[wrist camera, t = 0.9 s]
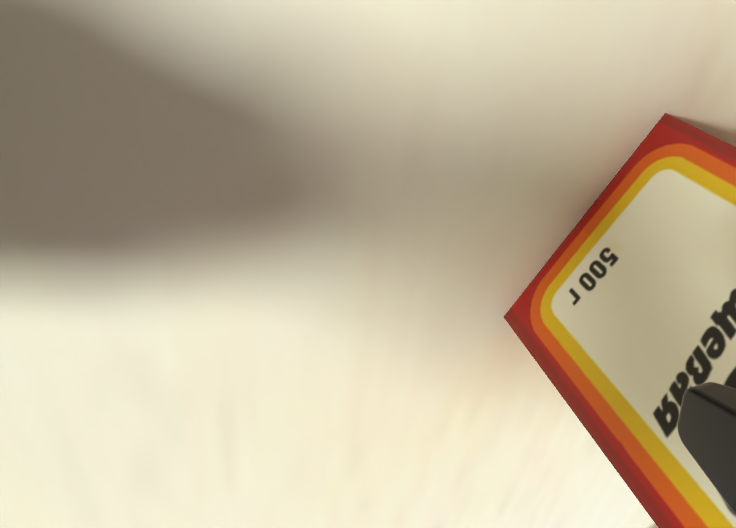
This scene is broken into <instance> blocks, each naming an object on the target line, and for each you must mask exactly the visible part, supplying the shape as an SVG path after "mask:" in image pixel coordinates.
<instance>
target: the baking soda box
mask: <svg viewBox="0 0 736 528" xmlns="http://www.w3.org/2000/svg"><path fill="white" fill-rule="evenodd" d="M504 318H505V319H506V321H507V322H508V323H509V325H510V326H511V328H512V329H513V330H514V332H515V333H516V334H517V336H518V337H519V338H520V340H521V341H522V343H523V344H524V345H525V347H526V348H527V349H528V351H529V352H530V353H531V355H532V356H533V357H534V359H535V360H536V362H537V363H538V364H539V366H540V367H541V368H542V370H543V371H544V372H545V374H546V375H547V377H548V378H549V379H550V381H551V382H552V383H553V385H554V386H555V387H556V389H557V390H558V392H559V393H560V394H561V396H562V397H563V398H564V400H565V401H566V402H567V404H568V405H569V406H570V408H571V409H572V411H573V412H574V413H575V415H576V416H577V417H578V419H579V420H580V421H581V423H582V424H583V426H584V427H585V428H586V430H587V431H588V432H589V434H590V435H591V436H592V438H593V439H594V440H595V442H596V443H597V445H598V446H599V447H600V449H601V450H602V451H603V453H604V454H605V455H606V457H607V458H608V460H609V461H610V462H611V464H612V465H613V466H614V468H615V469H616V470H617V472H618V473H619V474H620V476H621V477H622V479H623V480H624V481H625V483H626V484H627V485H628V487H629V488H630V489H631V491H632V492H633V494H634V495H635V496H636V498H637V499H638V500H639V502H640V503H641V504H642V506H643V507H644V508H645V510H646V511H647V513H648V514H649V515H650V517H651V518H652V519H653V521H654V522H655V523H656V525H657V526H658V527H659V528H736V515H735V514H734V512H733V511H732V510H731V509H730V507H729V506H728V504H727V503H726V502H725V500H724V499H723V498H722V496H721V495H720V494H719V492H718V491H717V489H716V488H715V487H714V485H713V484H712V483H711V481H710V480H709V479H708V477H707V476H706V475H705V473H704V472H703V470H702V469H701V468H700V466H699V465H698V464H697V462H696V461H695V460H694V458H693V457H692V456H691V454H690V453H689V451H688V450H687V449H686V447H685V446H684V444H683V443H682V441H681V439H680V437H679V434H678V428H677V424H678V419H679V414H680V409H681V404H682V399H683V395H684V392H685V391H686V390H687V389H688V388H690V387H693V386H697V385H700V384H703V383H707V382H714V383H718V384H722V385H725V386H728V387H731V388H735V389H736V147H733V146H731V145H729V144H727V143H725V142H723V141H721V140H719V139H717V138H715V137H713V136H711V135H709V134H707V133H705V132H703V131H701V130H699V129H697V128H695V127H693V126H691V125H689V124H686V123H684V122H682V121H680V120H678V119H676V118H674V117H672V116H670V115H668V114H666V113H665V114H664V115H663V117H662V118H661V119H660V121H659V122H658V123H657V124H656V126H655V127H654V128H653V129H652V131H651V132H650V133H649V134H648V136H647V137H646V138H645V139H644V141H643V142H642V143H641V144H640V146H639V147H638V148H637V150H636V151H635V152H634V153H633V155H632V156H631V157H630V158H629V160H628V161H627V162H626V163H625V165H624V166H623V167H622V168H621V170H620V171H619V172H618V173H617V175H616V176H615V177H614V179H613V180H612V181H611V182H610V184H609V185H608V186H607V187H606V189H605V190H604V191H603V192H602V194H601V195H600V196H599V197H598V199H597V200H596V201H595V202H594V204H593V205H592V206H591V208H590V209H589V210H588V211H587V213H586V214H585V215H584V216H583V218H582V219H581V220H580V221H579V223H578V224H577V225H576V226H575V228H574V229H573V230H572V231H571V233H570V234H569V235H568V237H567V238H566V239H565V240H564V242H563V243H562V244H561V245H560V247H559V248H558V249H557V250H556V252H555V253H554V254H553V255H552V257H551V258H550V259H549V260H548V262H547V263H546V264H545V266H544V267H543V268H542V269H541V271H540V272H539V273H538V274H537V276H536V277H535V278H534V279H533V281H532V282H531V283H530V284H529V286H528V287H527V288H526V289H525V291H524V292H523V293H522V295H521V296H520V297H519V298H518V300H517V301H516V302H515V303H514V305H513V306H512V307H511V308H510V310H509V311H508V312H507V313H506V315H505V316H504Z"/></svg>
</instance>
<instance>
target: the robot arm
mask: <svg viewBox="0 0 736 528" xmlns="http://www.w3.org/2000/svg"><path fill="white" fill-rule="evenodd" d="M677 428H678V434H679V437H680V439H681V441H682V443H683V444H684V446H685V447H686V449H687V450H688V451H689V453H690V454H691V456H692V457H693V458H694V460H695V461H696V462H697V464H698V465H699V466H700V468H701V469H702V470H703V472H704V473H705V475H706V476H707V477H708V479H709V480H710V481H711V483H712V484H713V485H714V487H715V488H716V489H717V491H718V492H719V494H720V495H721V496H722V498H723V499H724V500H725V502H726V503H727V504H728V506H729V507H730V509H731V510H732V511H733V512H734V514H735V515H736V389H735V388H731V387H728V386H725V385H722V384H718V383H714V382H707V383H703V384H700V385H697V386H693V387H690V388H688V389H687V390H686V391H685V392H684V395H683V399H682V404H681V409H680V414H679V419H678V424H677Z"/></svg>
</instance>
